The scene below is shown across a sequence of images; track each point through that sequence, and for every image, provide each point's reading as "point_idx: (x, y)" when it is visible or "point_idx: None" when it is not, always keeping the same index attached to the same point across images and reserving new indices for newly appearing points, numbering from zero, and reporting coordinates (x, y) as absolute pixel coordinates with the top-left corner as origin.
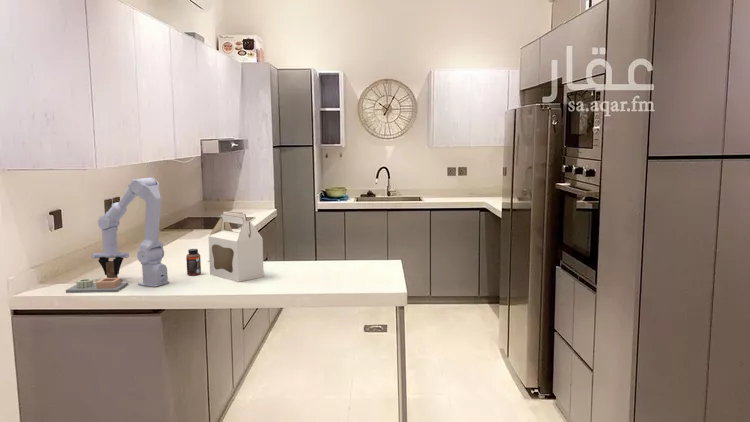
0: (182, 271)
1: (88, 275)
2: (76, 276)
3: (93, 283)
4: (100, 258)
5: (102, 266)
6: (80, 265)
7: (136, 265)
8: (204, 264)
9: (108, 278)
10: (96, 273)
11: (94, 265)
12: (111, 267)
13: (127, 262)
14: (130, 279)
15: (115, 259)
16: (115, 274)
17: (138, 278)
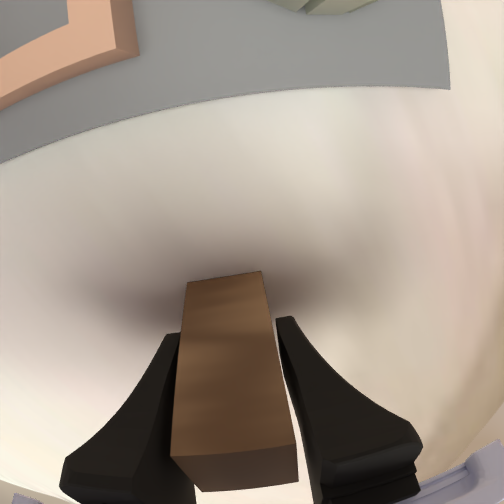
0: (14, 440)
1: (448, 363)
2: (497, 331)
3: (293, 63)
4: (400, 482)
5: (335, 380)
6: (478, 432)
7: (281, 493)
8: (47, 486)
9: (36, 49)
10: (416, 399)
11: (439, 450)
12: (206, 391)
13: None
14: (92, 334)
15: (92, 488)
16: (178, 336)
17: (65, 357)
